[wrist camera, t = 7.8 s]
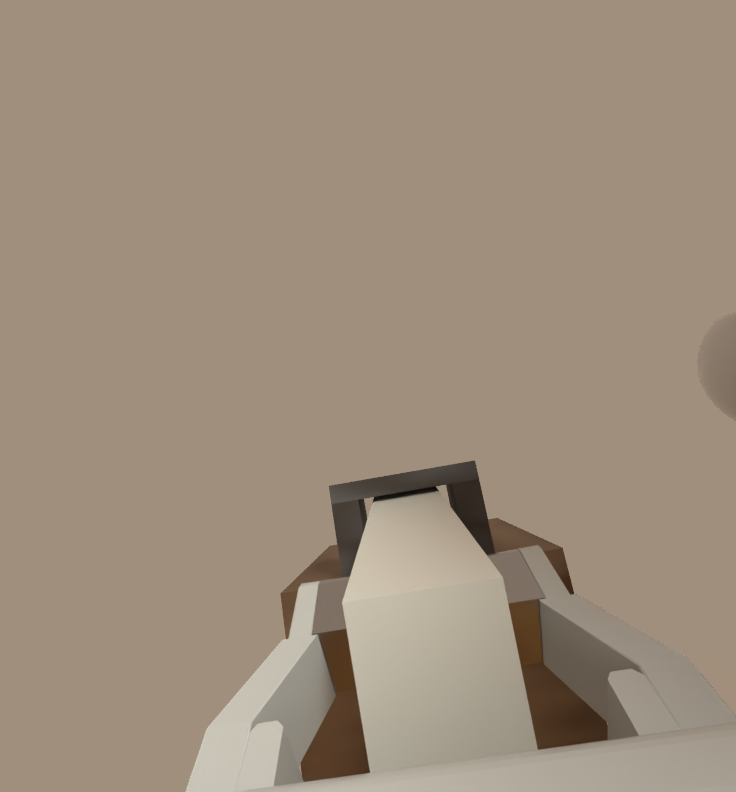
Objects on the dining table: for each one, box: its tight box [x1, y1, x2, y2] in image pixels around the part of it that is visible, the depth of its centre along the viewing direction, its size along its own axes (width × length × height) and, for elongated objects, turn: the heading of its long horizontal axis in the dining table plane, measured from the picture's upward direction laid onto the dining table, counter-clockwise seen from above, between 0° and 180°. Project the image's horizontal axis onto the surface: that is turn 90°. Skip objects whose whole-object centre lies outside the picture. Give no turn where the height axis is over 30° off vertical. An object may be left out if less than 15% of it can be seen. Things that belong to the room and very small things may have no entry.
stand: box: [281, 461, 608, 782], centre depth 21 cm, size 12×12×30 cm
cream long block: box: [342, 486, 538, 773], centre depth 14 cm, size 3×13×3 cm, turn 175°
